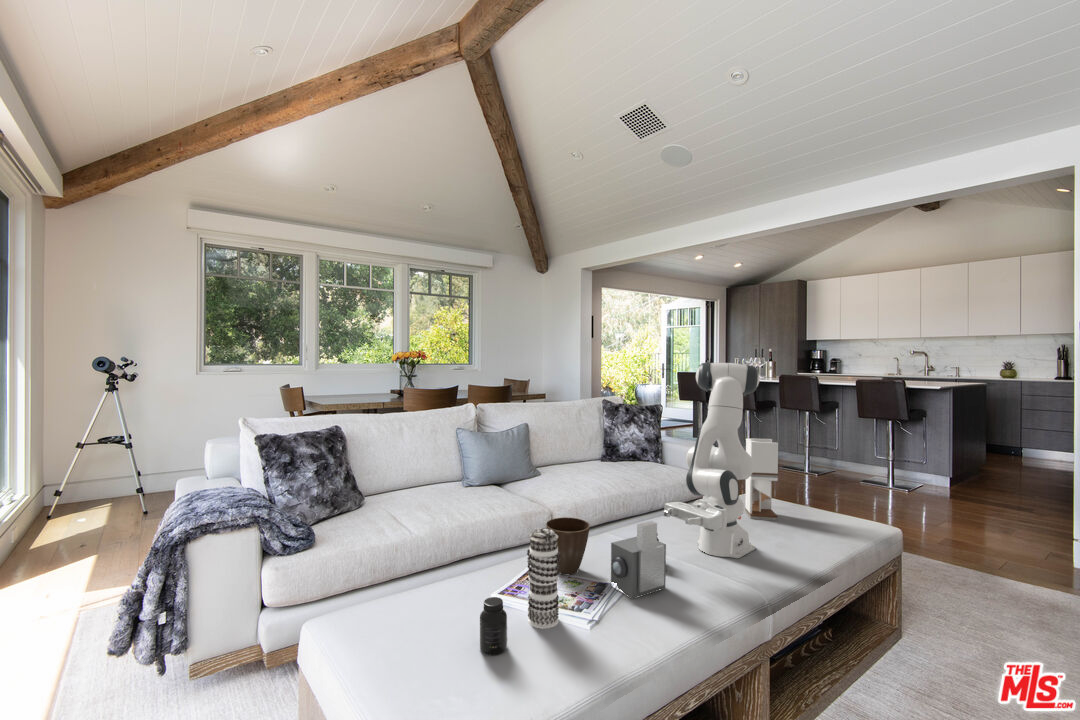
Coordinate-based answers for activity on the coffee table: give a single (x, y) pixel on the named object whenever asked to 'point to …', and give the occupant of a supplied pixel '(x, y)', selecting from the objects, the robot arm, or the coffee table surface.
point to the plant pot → (570, 542)
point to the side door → (649, 557)
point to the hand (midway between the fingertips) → (675, 517)
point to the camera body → (629, 566)
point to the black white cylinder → (543, 578)
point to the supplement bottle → (493, 627)
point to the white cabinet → (761, 478)
